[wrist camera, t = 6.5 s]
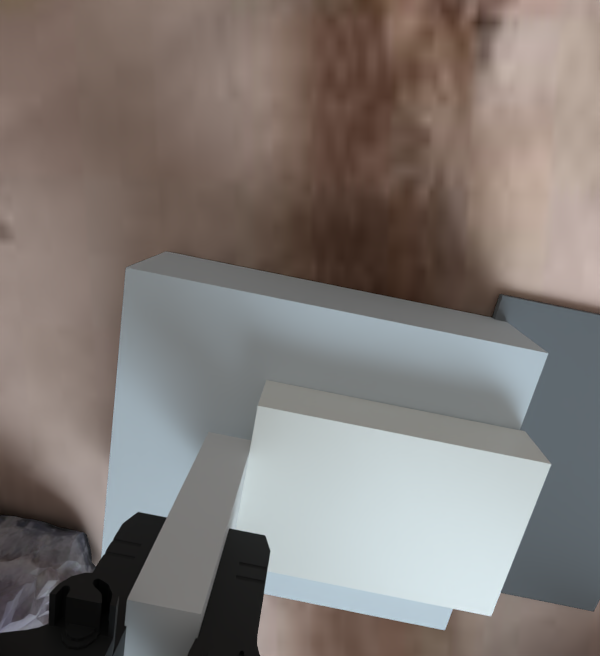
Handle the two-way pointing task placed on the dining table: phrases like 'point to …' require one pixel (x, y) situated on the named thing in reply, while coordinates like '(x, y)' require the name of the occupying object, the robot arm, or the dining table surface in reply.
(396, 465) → the cream rectangular box
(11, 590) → the geode
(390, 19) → the dining table surface
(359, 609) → the block
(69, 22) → the dining table surface
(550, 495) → the mat
